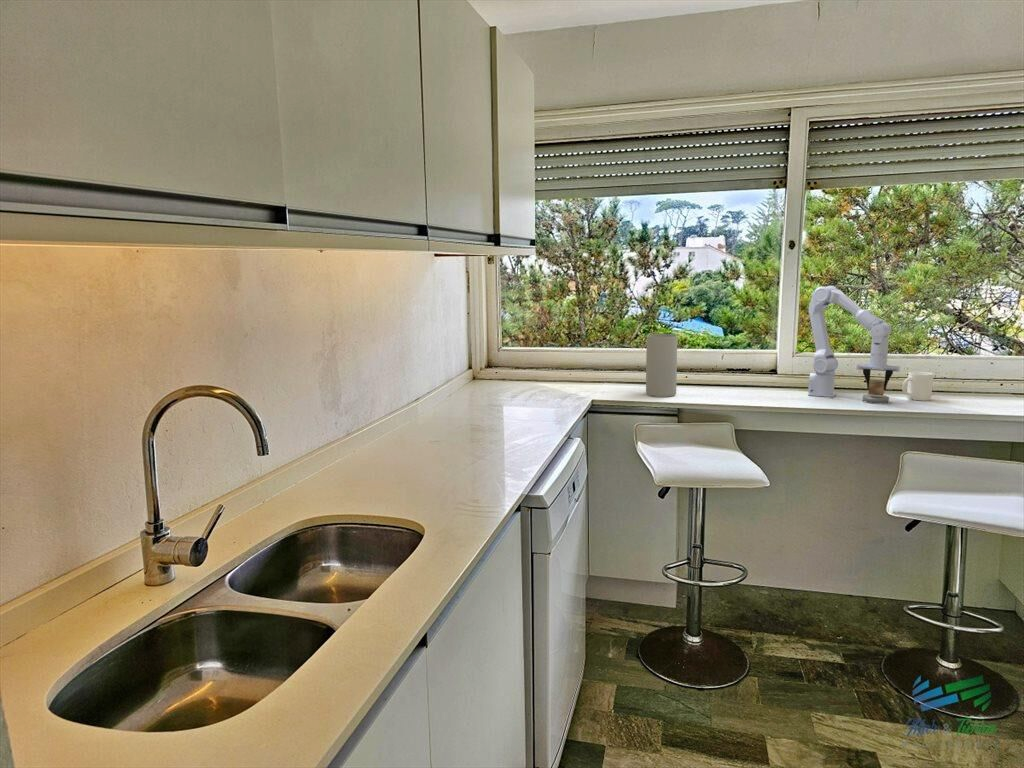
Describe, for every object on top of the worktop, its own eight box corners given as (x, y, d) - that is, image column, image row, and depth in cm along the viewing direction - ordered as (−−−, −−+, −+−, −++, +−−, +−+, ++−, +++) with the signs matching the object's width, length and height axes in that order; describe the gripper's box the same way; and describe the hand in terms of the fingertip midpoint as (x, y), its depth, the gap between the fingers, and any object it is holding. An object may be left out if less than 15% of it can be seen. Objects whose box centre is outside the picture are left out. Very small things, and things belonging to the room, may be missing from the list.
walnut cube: (868, 394, 261) (869, 381, 260) (869, 392, 265) (870, 379, 264) (883, 395, 258) (884, 382, 257) (883, 393, 262) (885, 380, 261)
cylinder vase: (679, 397, 279) (680, 336, 274) (648, 397, 279) (649, 337, 275) (672, 391, 291) (673, 333, 287) (643, 392, 291) (644, 334, 287)
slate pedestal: (861, 402, 261) (862, 397, 260) (863, 398, 268) (863, 393, 268) (888, 404, 256) (888, 399, 256) (889, 400, 264) (889, 395, 263)
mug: (909, 402, 260) (911, 375, 258) (893, 398, 268) (895, 372, 266) (936, 400, 262) (938, 374, 260) (919, 396, 270) (921, 371, 268)
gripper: (857, 354, 259) (854, 389, 261) (900, 356, 252) (897, 392, 254) (858, 352, 265) (856, 386, 267) (901, 354, 258) (898, 389, 260)
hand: (876, 389), depth 261 cm, fingers closed on walnut cube, 5 cm apart
